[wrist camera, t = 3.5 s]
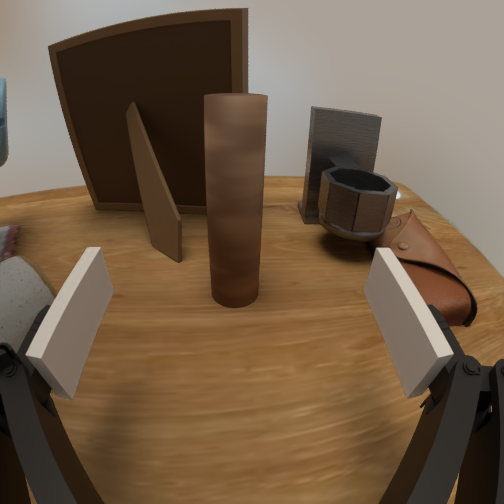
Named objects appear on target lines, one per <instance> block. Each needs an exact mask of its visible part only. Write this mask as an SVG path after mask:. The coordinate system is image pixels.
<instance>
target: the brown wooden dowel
mask: <svg viewBox="0 0 504 504" xmlns="http://www.w3.org/2000/svg"><path fill="white" fill-rule="evenodd" d="M267 98H268V96H267V95H262V94H250V93H219V94H208V95H204V134H205V174H206V201H207V223H208V242H209V258H210V274H211V288H212V296H213V298H214V299H215V301H216V302H218V303H219V304H221V305H223V306H226V307H232V308H237V307H243V306H246V305H249V304H251V303H252V302H253V301H254V300H255V299H256V298H257V295H258V285H259V266H260V248H261V228H262V209H263V188H264V167H265V145H266V123H267V100H268V99H267Z"/></svg>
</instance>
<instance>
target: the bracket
mask: <svg viewBox="0 0 504 504" xmlns="http://www.w3.org/2000/svg"><path fill="white" fill-rule="evenodd" d="M381 119H382V118H381V117H379V116H377V115H374V114H367V113H361V112H355V111H347V110H339V109H331V108H322V107H313V106H312V107H311V117H310V129H309V140H308V151H307V162H306V173H305V182H304V191H303V200H302V201H298V208H299V211H300V214H301V216H302V219H303V221H304V224H321V225H322V226H323V227H324V228H325V229H327V230H328V231H330V232H331V233H333V234H335V235H337V236H340V237H343V238H346V239H350V240H356V241H373V240H377V239H379V238H381V237H382V236H383V235H384V233H385V230H386V226H387V225H388V224H389V223H390V219H391V216H392V212H393V208H394V204H395V199H396V195H397V191H398V187H397V186H396V185H395V184H394V183H393V182H391V181H390V180H389V179H388V178H387V177H385V176H382V175H379V174H377V173H374V172H373V170H374V164H375V159H376V153H377V147H378V140H379V133H380V126H381Z"/></svg>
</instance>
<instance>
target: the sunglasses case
mask: <svg viewBox="0 0 504 504" xmlns="http://www.w3.org/2000/svg"><path fill="white" fill-rule="evenodd" d="M367 243H368V245H369V246H370V248H371V250H372V252H373V254H375V251H376V248H390V249H391V250H392V252H393V253H394V255H395V256H396V258H397V259H398V261H399V262H400V264H401V265H402V267H403V268H404V270H405V271H406V273H407V274H408V276H409V277H410V279H411V281H412V282H413V284H414V285H415V287H416V289H417V290H418V292H419V293H420V295H421V297H422V298H423V300H424V302H425V303H426V305H430V304H432V305H433V306H435V307H436V308H437V309H438V310H439V311H440V312H441V314H442V315H443V317H444V319H445V320H446V321H445V322H447V324H448V326H461V325H465V327H467V326H469V325H470V324H471V323H472V321H473V320H474V319H475V316H476V313H477V303H476V299H475V297H474V295H473V293H472V291H471V290H470V289H469V287H468V286H467V285H466V284H465V282H464V281H463V280H462V278H461V276H460V275H459V273H458V271H457V270H456V268H455V267H454V265H453V264H452V262H451V261H450V259H449V258H448V256H447V255H446V253H445V252H444V251H443V249H442V248H441V246H440V245H439V244H438V242H437V241H436V240H435V238H434V237H433V236H432V235H431V234H430V232H429V231H428V230H427V229H426V228H425V226H424V225H423V224H422V223H421V222H420V220H419V219H418V218H417V217H416V215H415V213H414V211H413V210H412V209H411V212H409V213H405V214H402V215H399V216H396V217H393V218H391V219H390V223H389V224H388V225H387V226H386V230H385V233H384V235H383V236H382V237H381V238H379V239H377V240H373V241H367Z"/></svg>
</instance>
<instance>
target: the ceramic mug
mask: <svg viewBox="0 0 504 504" xmlns="http://www.w3.org/2000/svg"><path fill="white" fill-rule="evenodd" d="M56 297H57V294H56V292H55V290H54V288H53V286H52V285H51V283H50V281H49V280H48V278H47V277H46V276H45V274H44V273H43V272H42V271H41V269H40V268H39V267H38V266H37V265H36V264H35V263H34V262H32V261H31V260H30V259H28V258H26V257H24V256H14V257H11V258H9V259H7V260H4V261H3V262H1V263H0V343H2V342H4V343H8V344H9V345H11V347H12V348H13V350H14V351H15V353H16V354H17V352H18V350H19V348H20V346H21V344H22V342H23V340H24V338H25V336H26V334H27V332H28V331H29V330H30V327H31V325H32V323H33V321H34V319H35V318H36V316H37V314H38V313H39V312H40V311H41V310H42V309H43V308H44V307H45V306H46V305H52V303H53V302H54V300H55V298H56Z"/></svg>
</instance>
